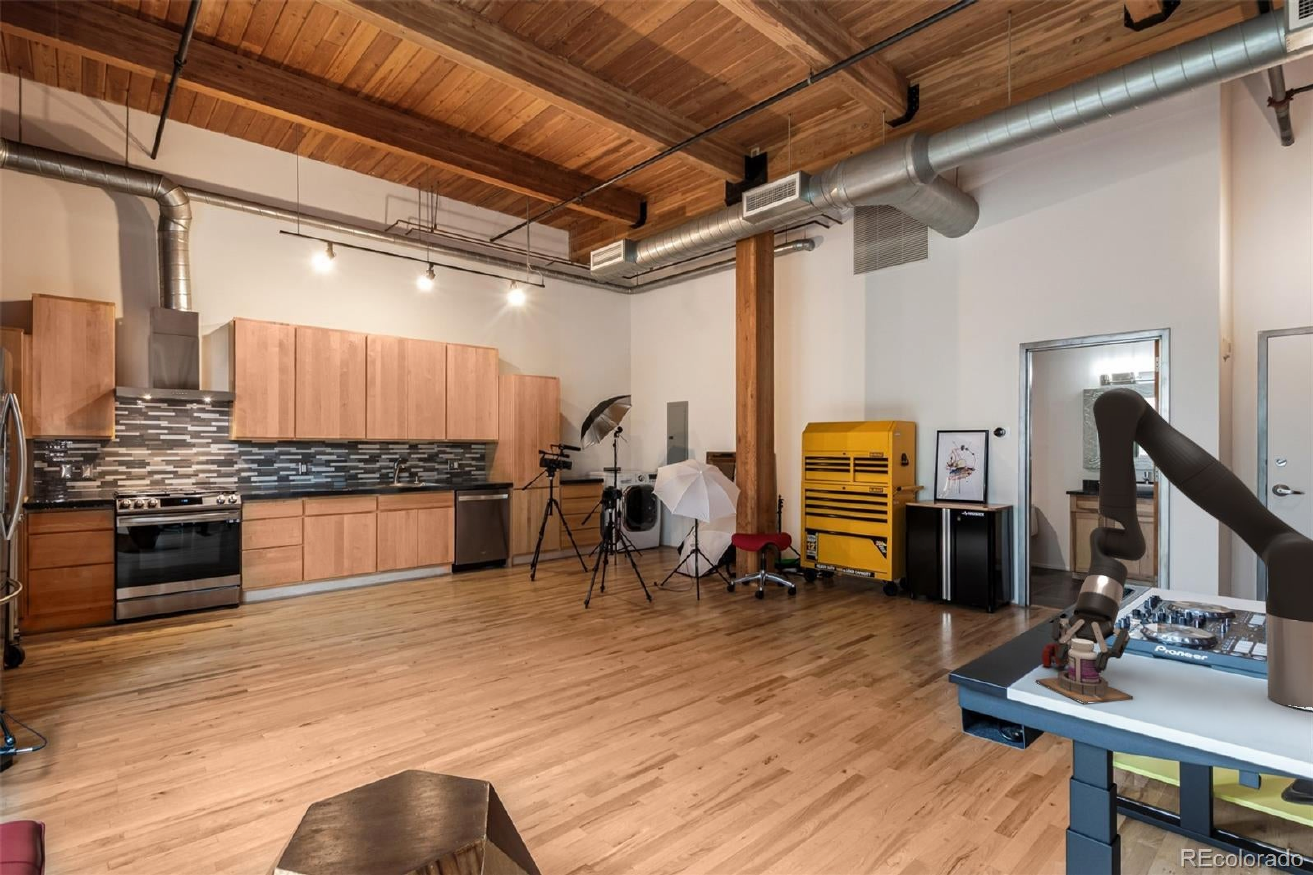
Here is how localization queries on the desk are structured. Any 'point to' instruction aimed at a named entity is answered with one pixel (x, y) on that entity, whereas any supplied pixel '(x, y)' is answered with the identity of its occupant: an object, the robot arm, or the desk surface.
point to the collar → (1084, 689)
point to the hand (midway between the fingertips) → (1078, 666)
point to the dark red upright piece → (1052, 653)
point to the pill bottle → (1082, 662)
